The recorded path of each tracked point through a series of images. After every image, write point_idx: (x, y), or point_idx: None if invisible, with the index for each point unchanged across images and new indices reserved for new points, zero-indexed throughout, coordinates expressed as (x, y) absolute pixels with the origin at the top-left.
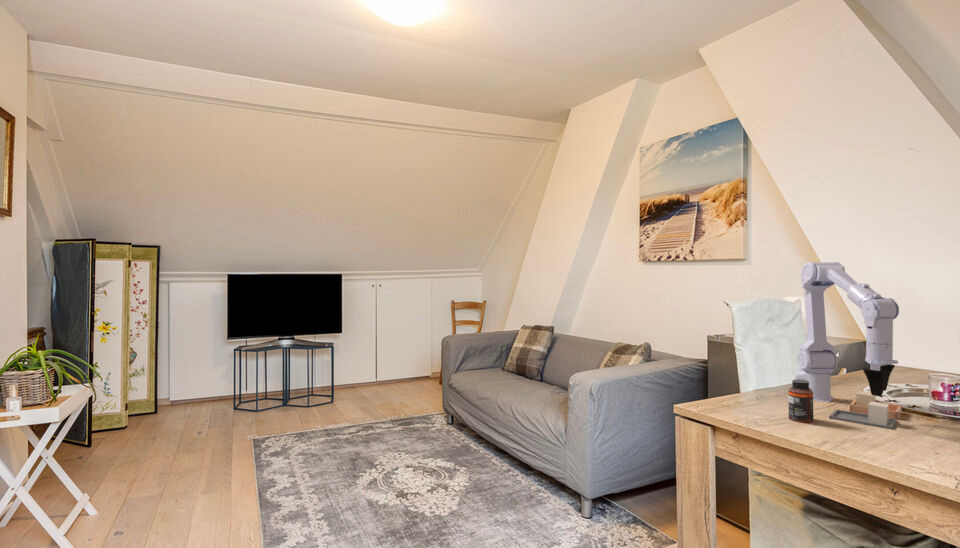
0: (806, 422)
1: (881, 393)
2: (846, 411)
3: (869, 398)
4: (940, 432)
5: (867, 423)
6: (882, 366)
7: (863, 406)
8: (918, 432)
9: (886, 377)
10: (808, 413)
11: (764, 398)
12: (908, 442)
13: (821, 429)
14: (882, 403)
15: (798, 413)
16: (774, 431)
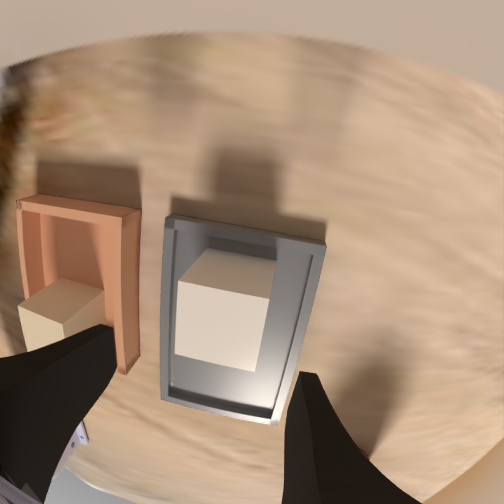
0: (367, 456)
1: (321, 386)
2: (166, 376)
3: (71, 329)
4: (228, 64)
5: (305, 329)
6: (10, 460)
7: (115, 336)
8: (284, 142)
9: (362, 482)
10: None
11: (146, 489)
12: (459, 203)
13: (406, 424)
14: (179, 308)
15: None
16: (447, 473)
